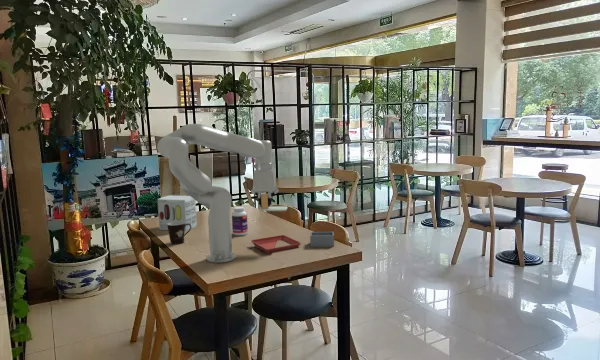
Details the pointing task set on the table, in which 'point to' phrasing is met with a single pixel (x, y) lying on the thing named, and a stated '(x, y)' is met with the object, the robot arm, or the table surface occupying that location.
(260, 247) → the plant saucer
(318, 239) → the tub
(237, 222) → the pill bottle
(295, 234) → the table surface
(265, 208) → the white tan l-shaped piece
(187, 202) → the supplement box
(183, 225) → the coffee mug
